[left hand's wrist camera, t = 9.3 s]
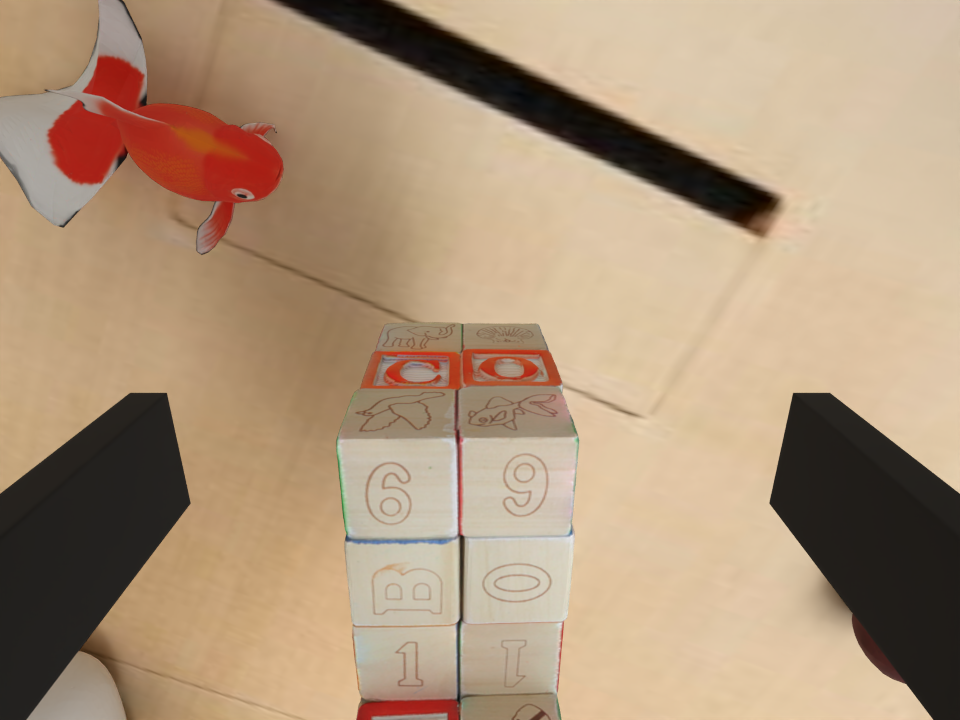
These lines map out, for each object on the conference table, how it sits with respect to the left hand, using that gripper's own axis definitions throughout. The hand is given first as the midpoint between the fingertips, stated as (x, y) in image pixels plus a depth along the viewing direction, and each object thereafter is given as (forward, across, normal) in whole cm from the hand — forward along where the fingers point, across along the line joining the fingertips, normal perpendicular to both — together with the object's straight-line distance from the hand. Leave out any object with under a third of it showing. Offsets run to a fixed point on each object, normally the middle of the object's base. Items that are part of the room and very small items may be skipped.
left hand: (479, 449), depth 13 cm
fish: (+24, -17, +6) cm, 30 cm away
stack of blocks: (+11, -1, -11) cm, 16 cm away
